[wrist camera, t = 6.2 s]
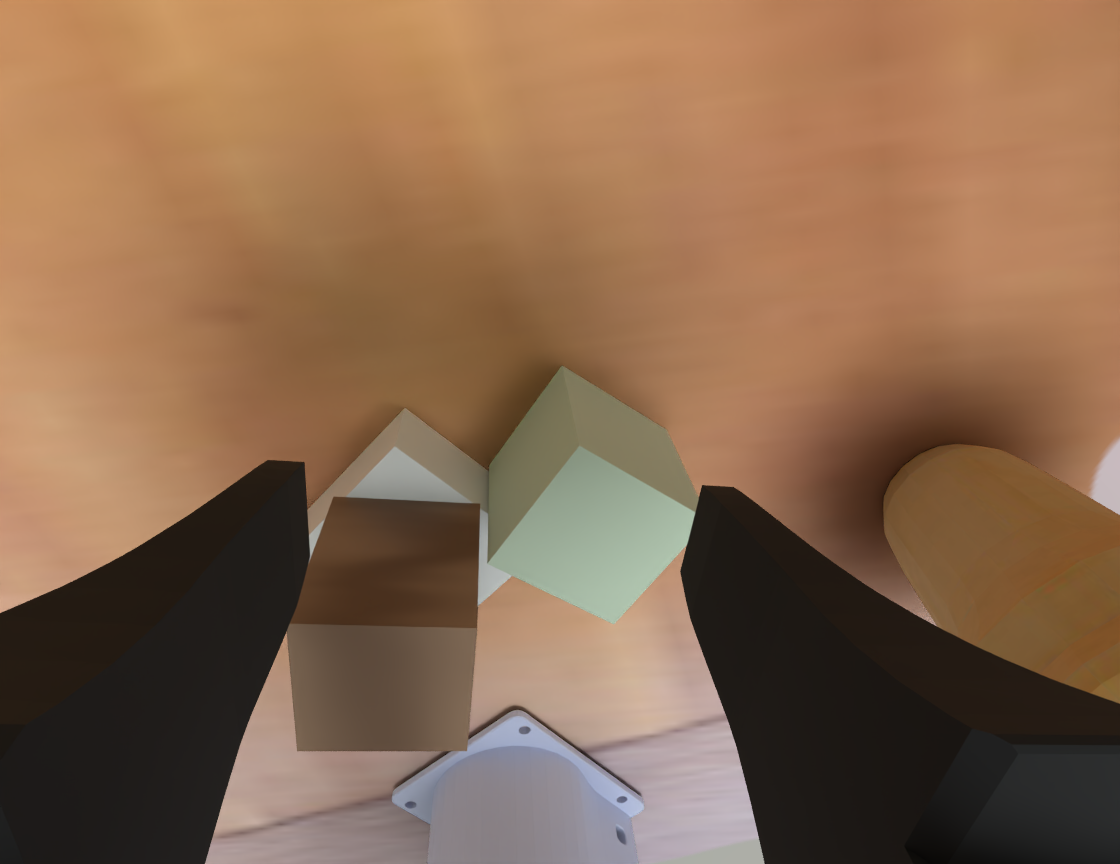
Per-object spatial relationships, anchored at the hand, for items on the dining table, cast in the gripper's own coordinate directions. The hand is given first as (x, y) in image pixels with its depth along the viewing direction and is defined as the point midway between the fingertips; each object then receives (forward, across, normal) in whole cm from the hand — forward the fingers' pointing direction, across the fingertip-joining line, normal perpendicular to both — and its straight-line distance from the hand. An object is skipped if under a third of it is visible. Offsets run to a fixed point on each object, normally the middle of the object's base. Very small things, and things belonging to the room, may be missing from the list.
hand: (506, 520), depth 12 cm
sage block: (+10, -3, +4) cm, 12 cm away
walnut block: (+8, +3, +7) cm, 11 cm away
